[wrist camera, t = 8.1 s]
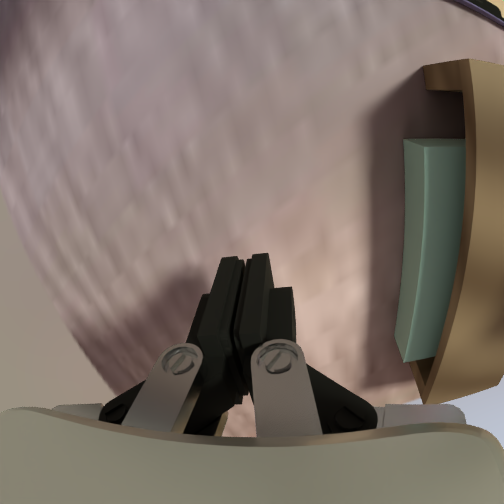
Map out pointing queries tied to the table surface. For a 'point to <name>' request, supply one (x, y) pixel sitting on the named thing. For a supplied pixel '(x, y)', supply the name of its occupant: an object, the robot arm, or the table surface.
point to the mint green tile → (429, 241)
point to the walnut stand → (473, 243)
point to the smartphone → (487, 8)
